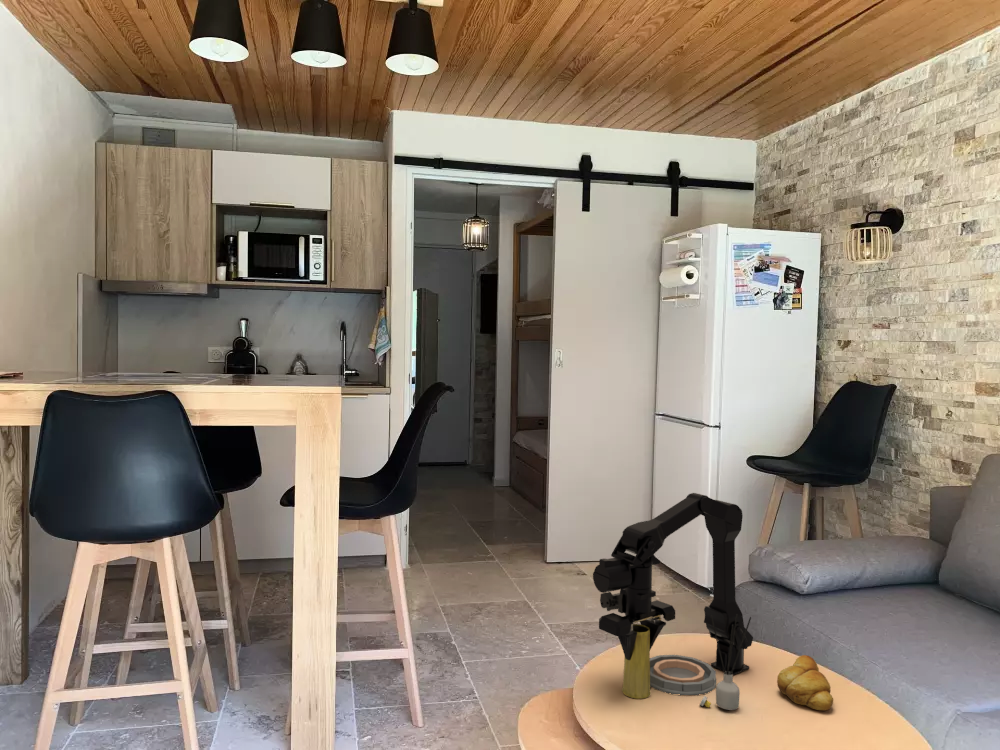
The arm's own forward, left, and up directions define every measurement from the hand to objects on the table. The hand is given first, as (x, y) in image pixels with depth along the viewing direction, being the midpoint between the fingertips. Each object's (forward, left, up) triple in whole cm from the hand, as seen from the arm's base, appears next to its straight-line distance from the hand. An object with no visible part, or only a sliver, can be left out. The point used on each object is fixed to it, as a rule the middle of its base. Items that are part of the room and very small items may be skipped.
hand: (637, 656), depth 161 cm
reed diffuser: (-9, +16, -8) cm, 20 cm away
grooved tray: (-13, +1, -8) cm, 15 cm away
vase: (0, 0, -8) cm, 8 cm away
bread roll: (-27, +24, -8) cm, 37 cm away
